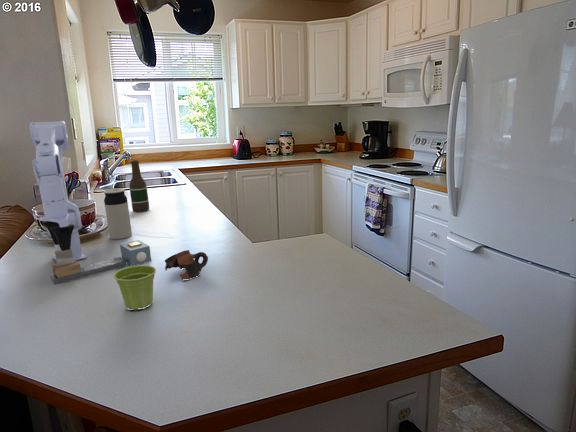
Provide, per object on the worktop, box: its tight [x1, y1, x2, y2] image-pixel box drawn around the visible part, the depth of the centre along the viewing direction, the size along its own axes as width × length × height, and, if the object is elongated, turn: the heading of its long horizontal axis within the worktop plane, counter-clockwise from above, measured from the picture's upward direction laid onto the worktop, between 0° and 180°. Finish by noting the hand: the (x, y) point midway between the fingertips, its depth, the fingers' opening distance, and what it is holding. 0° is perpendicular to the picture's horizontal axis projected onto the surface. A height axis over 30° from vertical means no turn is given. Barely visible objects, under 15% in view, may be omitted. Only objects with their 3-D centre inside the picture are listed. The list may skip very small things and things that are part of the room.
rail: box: [49, 256, 128, 285], centre depth 125 cm, size 5×20×2 cm, turn 130°
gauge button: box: [128, 242, 141, 248], centre depth 133 cm, size 3×3×4 cm
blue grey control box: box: [119, 239, 152, 267], centre depth 133 cm, size 9×6×5 cm, turn 40°
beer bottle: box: [128, 159, 150, 213], centre depth 200 cm, size 8×8×24 cm
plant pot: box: [113, 264, 157, 309], centre depth 100 cm, size 9×9×9 cm
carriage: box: [51, 249, 81, 278], centre depth 120 cm, size 6×6×6 cm
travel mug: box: [103, 187, 133, 240], centre depth 158 cm, size 8×8×18 cm
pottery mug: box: [164, 249, 209, 280], centre depth 120 cm, size 12×10×8 cm
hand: (62, 247), depth 119 cm, fingers open, 7 cm apart
